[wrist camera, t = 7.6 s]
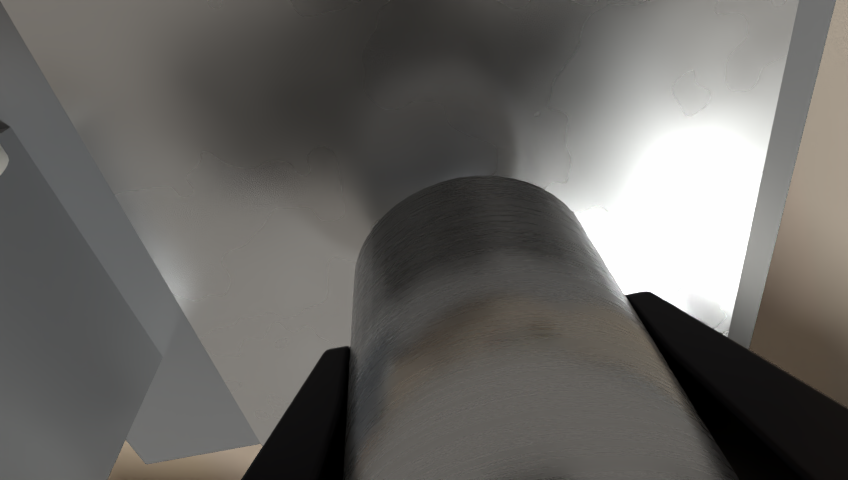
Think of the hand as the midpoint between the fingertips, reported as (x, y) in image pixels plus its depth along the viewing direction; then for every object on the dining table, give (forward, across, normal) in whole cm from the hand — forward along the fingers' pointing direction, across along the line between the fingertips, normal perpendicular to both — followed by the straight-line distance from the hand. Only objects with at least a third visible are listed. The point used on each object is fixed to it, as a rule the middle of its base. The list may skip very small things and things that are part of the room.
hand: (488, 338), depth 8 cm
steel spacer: (+2, 0, 0) cm, 2 cm away
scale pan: (+4, 0, 0) cm, 4 cm away
